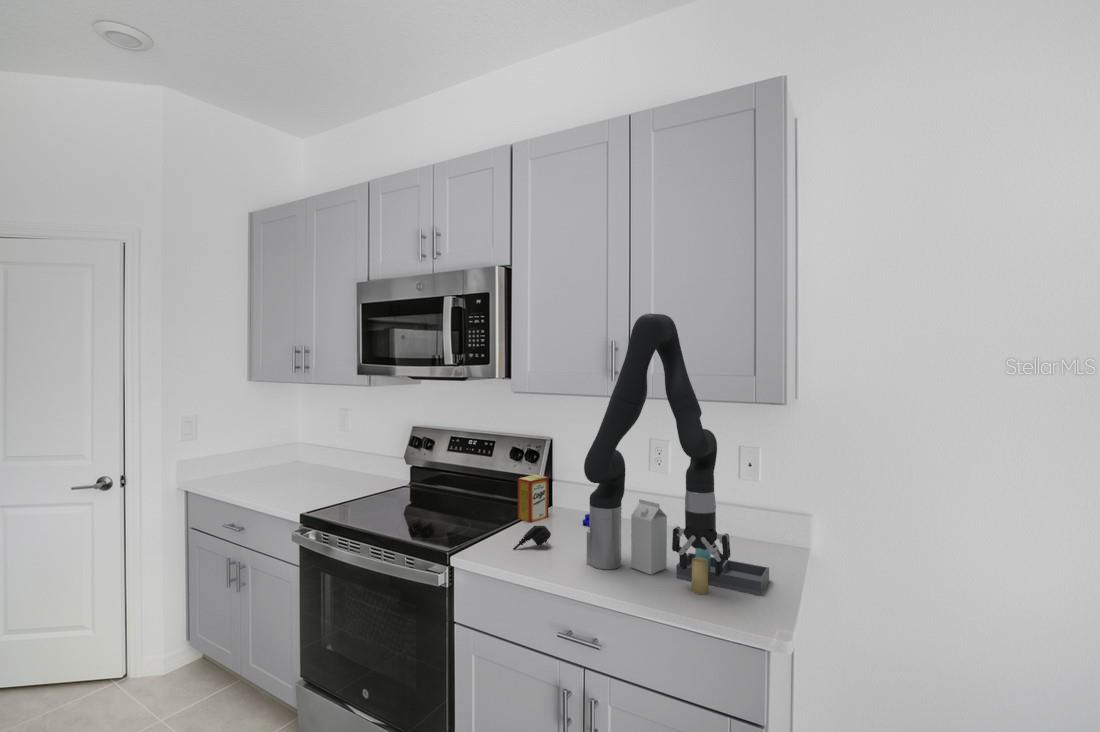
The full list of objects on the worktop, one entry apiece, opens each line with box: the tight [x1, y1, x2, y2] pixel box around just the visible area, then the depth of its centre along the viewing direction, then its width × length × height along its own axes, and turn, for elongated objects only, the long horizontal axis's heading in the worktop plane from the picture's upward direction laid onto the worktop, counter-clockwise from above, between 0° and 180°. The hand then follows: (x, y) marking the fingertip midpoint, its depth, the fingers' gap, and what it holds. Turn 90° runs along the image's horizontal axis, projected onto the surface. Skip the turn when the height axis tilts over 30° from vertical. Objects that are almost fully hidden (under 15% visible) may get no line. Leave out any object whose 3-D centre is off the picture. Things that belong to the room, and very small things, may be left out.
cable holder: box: [582, 513, 590, 528], centre depth 194 cm, size 8×4×4 cm, turn 52°
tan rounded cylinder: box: [691, 557, 709, 595], centre depth 139 cm, size 4×4×8 cm
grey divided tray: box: [675, 552, 770, 597], centre depth 147 cm, size 22×11×4 cm, turn 59°
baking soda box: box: [517, 474, 549, 524], centre depth 203 cm, size 10×6×16 cm
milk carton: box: [630, 499, 668, 575], centre depth 155 cm, size 7×7×19 cm
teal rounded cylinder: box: [694, 548, 712, 571], centre depth 150 cm, size 4×4×8 cm
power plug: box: [512, 525, 552, 551], centre depth 171 cm, size 6×8×12 cm
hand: (700, 571), depth 139 cm, fingers open, 8 cm apart
